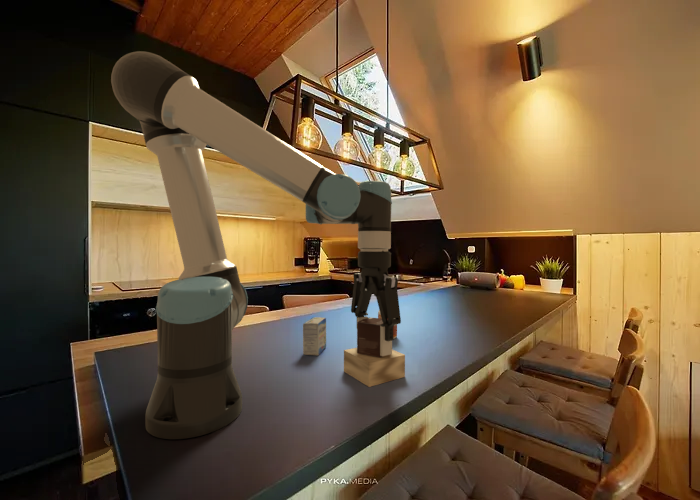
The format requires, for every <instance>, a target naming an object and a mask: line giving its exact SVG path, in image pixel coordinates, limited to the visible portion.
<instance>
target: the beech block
mask: <svg viewBox="0 0 700 500" xmlns="http://www.w3.org/2000/svg"><path fill="white" fill-rule="evenodd" d="M343 372H344V373H346V374H347V375H349V376H350V377H352V378H353V379H355V380H357V381H359V382H360V383H361V384H363V385H365V386H366V387H369V388H371V387H374V386H378V385H381V384H384V383H389V382H391V381H392V382H393V381H396V380H398V379H402V378H405V377H406V354H404V353H402V352H399V351H397V350H395V349H392V354H391V355H386V356H382V357H374V356H369V355H363V354H358V353H357V347H351V348H348V349H343Z"/></svg>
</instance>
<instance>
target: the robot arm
mask: <svg viewBox="0 0 700 500" xmlns="http://www.w3.org/2000/svg"><path fill="white" fill-rule="evenodd" d="M110 78H111V79H110V82H111V86H112V91H113V94H114V96H115V98H116V100H117V101H118V103H119V105H121V107H122V108H123V109H124V110H125V111H126V112H127V113H129V114H130V116H132V117H133V118H135V119H136V120H137V121H139V123H140V126H141V130H142V134H143V135H142V136H143V139H144V142H145V143H144V144H145V146H146V148H147V150H148V151H150V152H151V153H153V154H154V155H156V156H157V161H158V164H159V169H160V172H161V173H160V174H161V177H162V181H163V186H164V189H165V195H166V197H167V202H168V207H169V209H170V214H171V219H172V223H173V227H174V230H175V235H176V239H177V243H178V247H179V251H180V255H181V260H182V264H183V268H184V269H183V271H182V273H181V274H180V275H179V277H178V279H176V280H172V281H169V282H167V283H165V284H163V285H162V286H161V287H160V289H159V290H158V294H157V301H156V302H157V303H156V306H155V311H156V327H157V328H156V331H157V332H156V334H157V335H156V341H157V343H156V345H157V377H156V381H155V384H154V387H153V389H152V392H151V396H150V397H149V401H148V404H147V407H146V410H145V417H144V418H145V423H144V424H145V426H144V427H145V430H146V432H147V434H149V435H151V436H153V437H155V438H159V439H164V440H183V439H191V438H195V437H196V438H197V437H200V436H203V435H204V436H205V435H207V434H210V433H213V432H216V431H218V430H220V429H223V428H225V427H226V426H228V425H229V424H230V423H232V422H234V421H235V420H236V418H238V417H239V416H240V414H241V413H242V410H243V395H242V391H241V389H240V388H241V387H240V385H239V383H238V380H237V377H236V374H235V371H234V368H233V365H232V364H233V360H232V359H233V357H232V356H233V354H232V352H233V351H232V350H233V349H232V348H233V346H232V345H233V341H232V340H233V339H232V338H233V337H232V336H233V333H232V332H233V330H234V329H235V327H236V326H237V325H238V324H239V323H240V322H241V321H242V320H243V318H244V316H246V313H247V308H248V304H249V303H248V302H249V300H248V299H249V297H248V293H247V290H246V288H245V287H244V285H243V284H242V282H241V281H240V276H239V271H238V268H237V264H235V263H233V262H232V261H230V260H229V259H228V258H227V254H226V253H227V252H226V249H225V245H224V241H223V235H222V232H221V227H220V223H219V219H218V214H217V211H216V207H215V202H214V198H213V195H212V194H213V193H212V189H211V184H210V180H209V176H208V173H207V168H206V164H205V159H204V156H203V151H204V149H205V148H206V147H207V146H209V147H211V148H212V149H214V150H215V151H217V152H219V153H220V154H222V155H224V156H226V157H227V158H229V159H231V160H232V161H233V162H236V163H237V164H239V165H241V166H243V167H244V168H245V169H248V170H250V171H251V172H253V174H255V175H258V177H259V176H260V177H261V178H262V179H264V180H266V181H268V182H269V183H271V184H273V185H274V186H276V187H278V188H279V189H281V190H282V191H284V192H286V193H287V194H289V195H291V196H292V197H294V198H296V199H298V200H299V201H300V202H302V203H304V204H305V221H306V222H307V223H308V224H316V225H324V224H325V225H333V224H334V225H342V224H343V225H347V224H348V225H357V228H358V230H357V248H358V249H359V250H360V251H358V253H357V267H359V268H361V272H355V273H353V287H352V288H353V289H352V298H351V307H350V311H351V313H352V314H353V313H354V317H356V323H357V322H358V321H361V320H363V319H366V318H369V317H368V316H369V313H368V308H369V305H370V302H371V299H372V296H374V297H375V298H376V302H377V304H378V305H377V306H378V311H379V310H380V314H381V318H382V322H383V324H381V326H380V356H386V355H391V354H392V350H393V340H394V339H393V327H394V325H396V324H397V325H400V324H401V323H402V319H401V318H402V317H401V311H400V303H399V301H400V300H399V294H398V284H399V283H398V282H399V278H398V277H396V276H395V277H394V276H393V277H392V276H389V271H388V269H389V268H391V266H392V252H391V251H389V250H390V249H391V248H392V247H391V245H392V234H391V233H392V204H393V202H392V188H391V185H390V184H389V183H388V182H386V181H382V180H366V181H362V182H360V183H357V182H356V181H355V180H354V179H353V178H352V177H350V176H349V175H347V174H343V173H334V172H333V171H331V170H330V169H328V168H326V167H324V166H323V165H321V164H320V163H319V162H317V161H315V160H314V159H312V158H311V157H309V156H308V155H306V154H304V153H302V152H301V151H300V150H298V149H296V148H295V147H293V146H292V145H290V144H288V143H287V142H285V141H284V140H281V138H279V137H277V136H275V135H274V134H272V133H271V132H269V131H268V130H266V129H265V128H263V127H262V126H260V125H258V124H257V123H255V122H254V121H252V120H250V119H249V118H247V117H246V116H244V115H242V114H241V113H239V112H237V111H236V110H234V109H232V108H231V107H230V106H228V105H227V104H225V103H224V102H221V101H220V100H219V99H217V98H216V97H214V96H212V95H211V94H208V93H207V92H206V91H204V90H203V89H202V88H200V86H199V82H198V81H197V79H196V78H195V77H193V76H192V75H190V74H188V73H187V72H185V71H184V70H182V69H181V68H179V67H178V66H176V64H173V63H172V62H171V61H170V60H169V61H168V59H165V58H164V57H162V56H161V55H158V54H156V53H153V52H149V51H142V50H141V51H140V50H137V51H133V52H129V53H126V54H124V55H123V56H122V57H120V58H119V59H118V60H117V61H116V62H115V64H114V66H113V68H112V72H111V77H110ZM387 318H388V320H387ZM394 318H395V319H394Z"/></svg>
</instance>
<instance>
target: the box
mask: <svg viewBox="0 0 700 500" xmlns="http://www.w3.org/2000/svg"><path fill="white" fill-rule="evenodd" d="M387 320H388V319H387ZM381 324H383V322H382V319H380V318H378V317H370V316H369V317H368V318H366V319H363V320H361V321H358V322H357V321H356V348H357V353H358V354H363V355H369V356H374V357H382V356H380V326H381Z"/></svg>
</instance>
